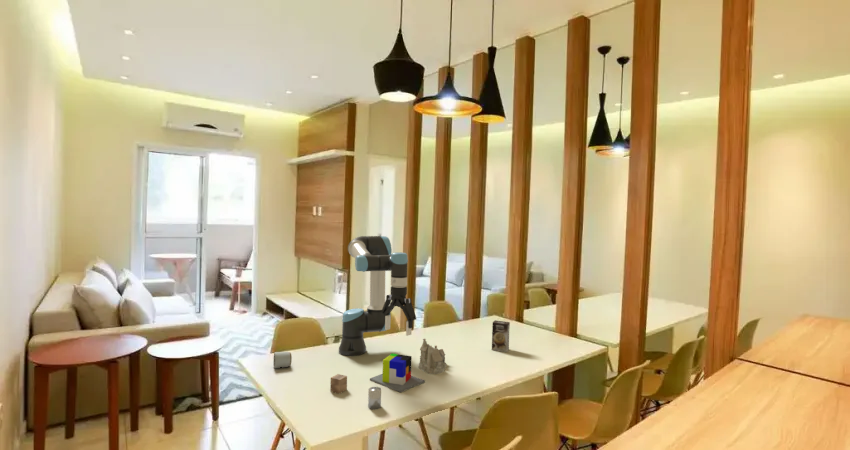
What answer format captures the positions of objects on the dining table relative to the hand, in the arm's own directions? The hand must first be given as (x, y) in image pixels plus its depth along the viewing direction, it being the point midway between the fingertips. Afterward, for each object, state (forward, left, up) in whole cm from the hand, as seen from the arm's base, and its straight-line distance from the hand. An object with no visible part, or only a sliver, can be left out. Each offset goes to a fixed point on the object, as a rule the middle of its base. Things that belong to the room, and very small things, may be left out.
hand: (398, 332), depth 195 cm
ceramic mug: (-55, -26, -23) cm, 65 cm away
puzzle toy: (0, 0, -22) cm, 22 cm away
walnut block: (-11, -25, -23) cm, 36 cm away
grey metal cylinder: (+12, -25, -23) cm, 36 cm away
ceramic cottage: (+1, +26, -23) cm, 35 cm away
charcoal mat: (0, 0, -23) cm, 23 cm away
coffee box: (+10, +75, -23) cm, 79 cm away
